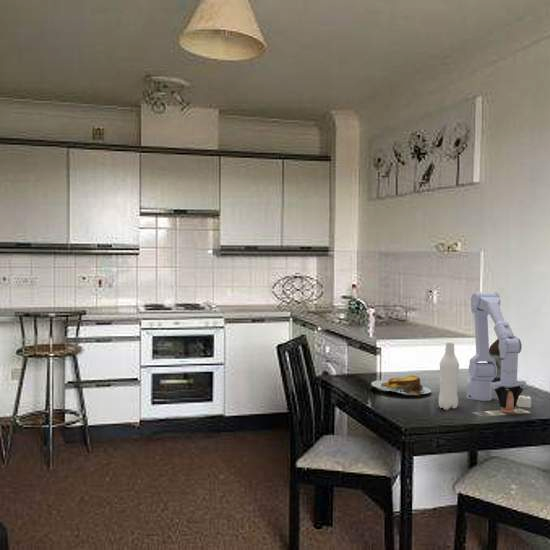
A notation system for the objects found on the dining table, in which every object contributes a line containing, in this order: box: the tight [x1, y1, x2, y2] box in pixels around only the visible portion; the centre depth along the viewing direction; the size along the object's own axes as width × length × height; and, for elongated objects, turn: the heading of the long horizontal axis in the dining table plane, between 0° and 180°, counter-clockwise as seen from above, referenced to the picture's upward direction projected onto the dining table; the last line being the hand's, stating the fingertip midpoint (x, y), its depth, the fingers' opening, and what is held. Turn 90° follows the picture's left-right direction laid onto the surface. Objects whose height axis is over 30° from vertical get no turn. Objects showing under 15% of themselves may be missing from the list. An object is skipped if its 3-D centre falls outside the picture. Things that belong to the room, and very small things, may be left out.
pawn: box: [500, 389, 515, 415], centre depth 225 cm, size 5×5×8 cm
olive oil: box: [489, 338, 501, 383], centre depth 274 cm, size 11×11×25 cm
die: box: [516, 395, 532, 408], centre depth 235 cm, size 4×4×5 cm
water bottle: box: [438, 342, 460, 411], centre depth 231 cm, size 7×7×25 cm
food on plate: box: [371, 375, 432, 396], centre depth 259 cm, size 25×25×7 cm
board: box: [472, 407, 532, 418], centre depth 224 cm, size 22×7×1 cm, turn 110°
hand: (507, 406), depth 225 cm, fingers closed on pawn, 4 cm apart
